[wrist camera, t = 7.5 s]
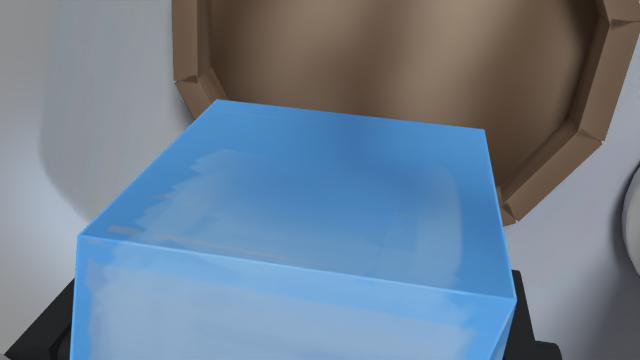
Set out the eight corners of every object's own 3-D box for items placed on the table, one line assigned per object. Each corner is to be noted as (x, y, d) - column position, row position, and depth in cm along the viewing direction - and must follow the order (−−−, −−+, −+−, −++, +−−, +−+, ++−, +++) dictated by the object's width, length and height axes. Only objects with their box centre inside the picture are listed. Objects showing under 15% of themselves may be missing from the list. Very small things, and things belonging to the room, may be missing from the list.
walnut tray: (682, -185, 23) (713, -193, 21) (550, 245, 32) (559, 277, 30) (193, -222, 26) (165, -233, 23) (197, 187, 35) (177, 212, 32)
